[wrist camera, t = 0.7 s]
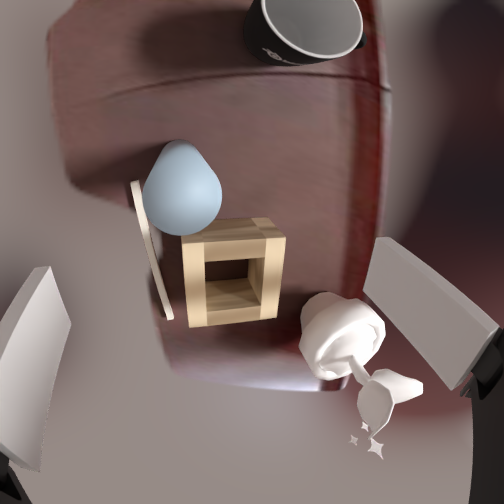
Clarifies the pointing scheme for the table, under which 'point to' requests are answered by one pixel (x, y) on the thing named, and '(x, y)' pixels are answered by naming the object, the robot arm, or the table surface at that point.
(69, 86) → the table surface
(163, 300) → the white thin rod
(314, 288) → the table surface
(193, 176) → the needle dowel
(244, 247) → the wooden box
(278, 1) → the mug
